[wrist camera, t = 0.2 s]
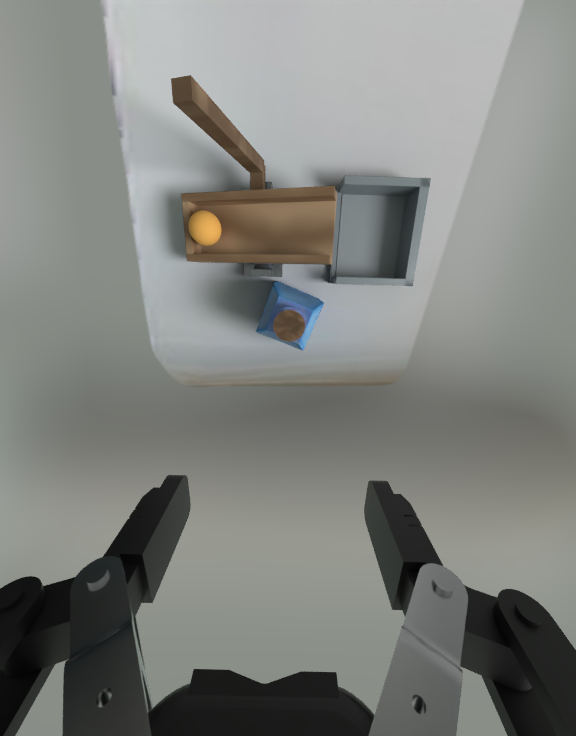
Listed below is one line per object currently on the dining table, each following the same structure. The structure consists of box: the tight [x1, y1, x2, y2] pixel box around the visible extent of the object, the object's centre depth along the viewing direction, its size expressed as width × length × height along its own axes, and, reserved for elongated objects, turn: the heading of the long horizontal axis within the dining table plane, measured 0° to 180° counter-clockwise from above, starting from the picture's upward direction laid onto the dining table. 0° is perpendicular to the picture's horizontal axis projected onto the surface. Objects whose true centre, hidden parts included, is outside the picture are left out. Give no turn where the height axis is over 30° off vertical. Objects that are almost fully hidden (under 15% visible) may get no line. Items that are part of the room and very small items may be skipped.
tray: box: [329, 176, 431, 286], centre depth 33 cm, size 11×10×4 cm
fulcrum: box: [242, 182, 282, 277], centre depth 33 cm, size 10×5×3 cm, turn 178°
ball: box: [189, 210, 221, 246], centre depth 31 cm, size 4×4×4 cm
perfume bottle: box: [256, 281, 324, 350], centre depth 32 cm, size 6×6×12 cm
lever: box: [171, 75, 337, 265], centre depth 25 cm, size 10×17×14 cm, turn 88°
